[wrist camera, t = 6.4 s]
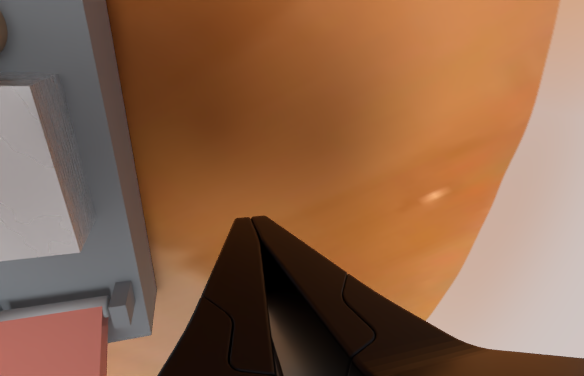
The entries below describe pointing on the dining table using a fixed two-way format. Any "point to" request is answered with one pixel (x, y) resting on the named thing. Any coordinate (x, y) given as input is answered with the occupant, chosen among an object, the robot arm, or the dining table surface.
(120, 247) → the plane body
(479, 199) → the dining table surface
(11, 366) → the lever
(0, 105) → the light grey flat block
